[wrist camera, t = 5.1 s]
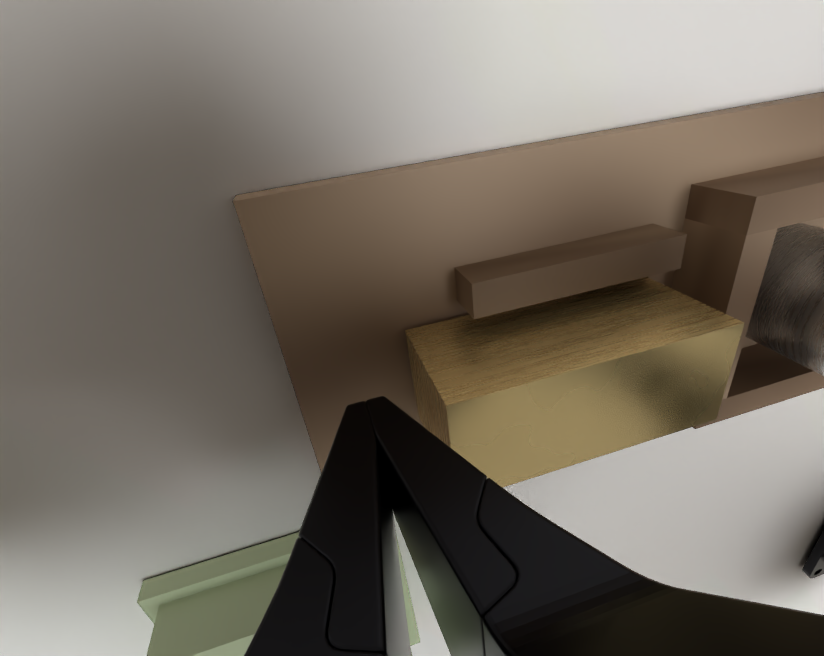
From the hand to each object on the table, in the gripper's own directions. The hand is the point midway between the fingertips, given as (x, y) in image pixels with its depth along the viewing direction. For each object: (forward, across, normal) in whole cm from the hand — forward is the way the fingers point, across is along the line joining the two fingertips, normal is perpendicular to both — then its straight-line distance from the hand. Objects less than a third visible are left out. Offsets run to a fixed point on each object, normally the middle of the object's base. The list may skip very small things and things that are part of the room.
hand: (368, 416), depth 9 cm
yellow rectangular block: (+1, -4, 0) cm, 4 cm away
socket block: (+2, -7, 0) cm, 7 cm away
